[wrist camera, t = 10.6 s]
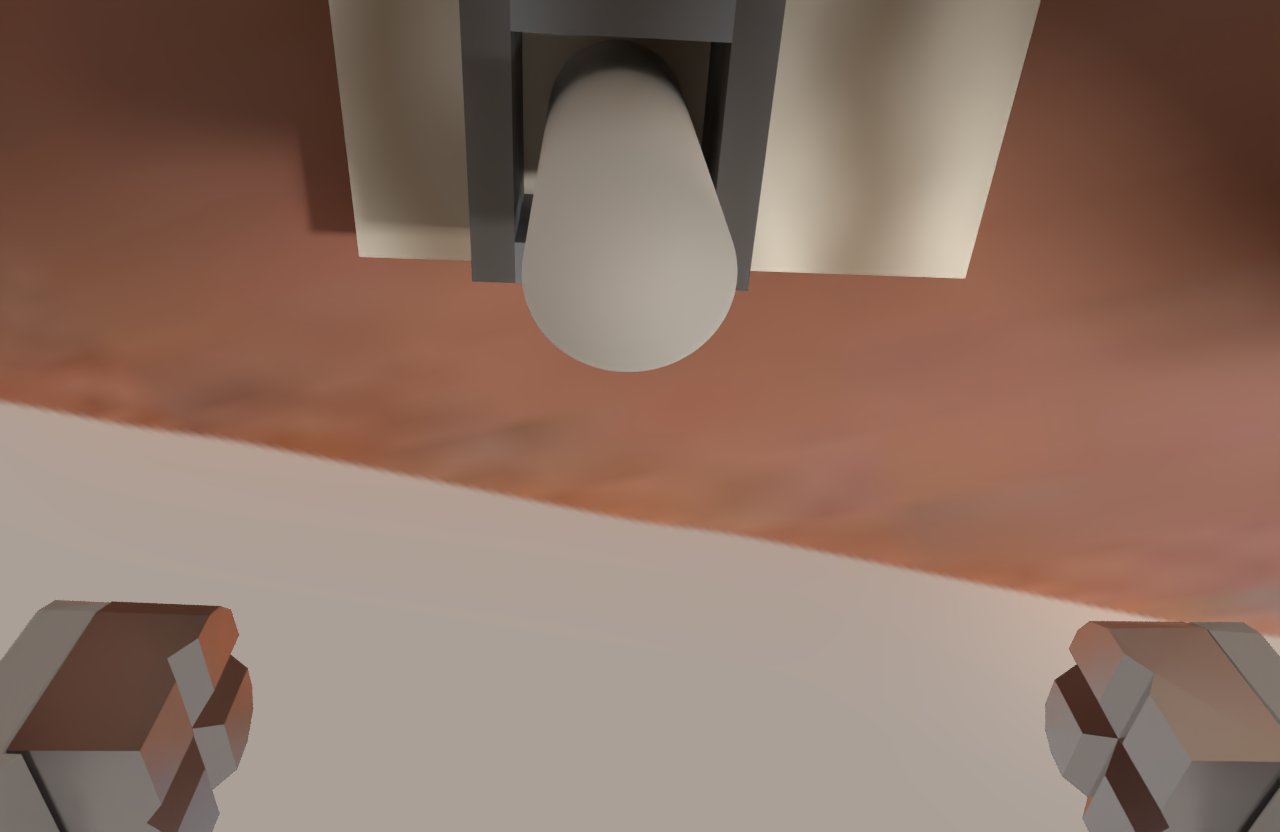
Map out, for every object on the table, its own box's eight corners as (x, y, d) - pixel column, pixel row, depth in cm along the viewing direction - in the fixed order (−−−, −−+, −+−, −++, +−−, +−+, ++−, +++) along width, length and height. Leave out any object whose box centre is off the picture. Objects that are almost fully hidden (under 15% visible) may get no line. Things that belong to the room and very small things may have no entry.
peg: (688, 43, 26) (749, 177, 16) (677, 180, 28) (725, 374, 18) (549, 36, 25) (520, 167, 15) (548, 174, 28) (522, 369, 18)
